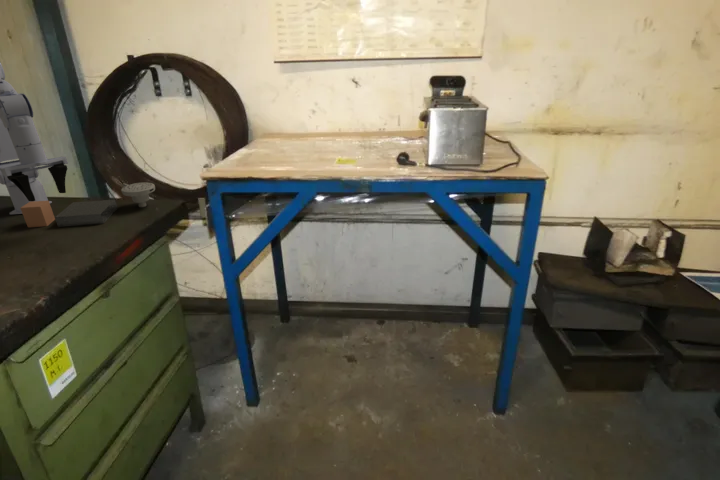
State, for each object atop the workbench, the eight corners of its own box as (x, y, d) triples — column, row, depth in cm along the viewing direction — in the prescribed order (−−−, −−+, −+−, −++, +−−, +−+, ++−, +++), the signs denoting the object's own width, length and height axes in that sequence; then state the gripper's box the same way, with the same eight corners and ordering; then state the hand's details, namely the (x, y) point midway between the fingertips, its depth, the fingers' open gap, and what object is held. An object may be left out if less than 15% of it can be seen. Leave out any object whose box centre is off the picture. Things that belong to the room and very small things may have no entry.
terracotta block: (36, 220, 124) (29, 201, 122) (55, 219, 125) (48, 200, 122) (27, 227, 120) (20, 207, 117) (47, 226, 120) (40, 206, 118)
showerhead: (132, 178, 136) (160, 180, 134) (138, 199, 139) (164, 201, 137) (111, 188, 128) (140, 189, 126) (117, 210, 131) (146, 212, 129)
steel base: (75, 211, 130) (72, 202, 129) (117, 208, 132) (114, 199, 131) (58, 226, 120) (54, 217, 118) (103, 223, 122) (100, 213, 120)
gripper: (2, 150, 99) (25, 205, 104) (66, 139, 110) (83, 189, 115) (-12, 150, 102) (11, 204, 107) (51, 140, 114) (69, 189, 119)
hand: (47, 196), depth 111 cm, fingers open, 7 cm apart
